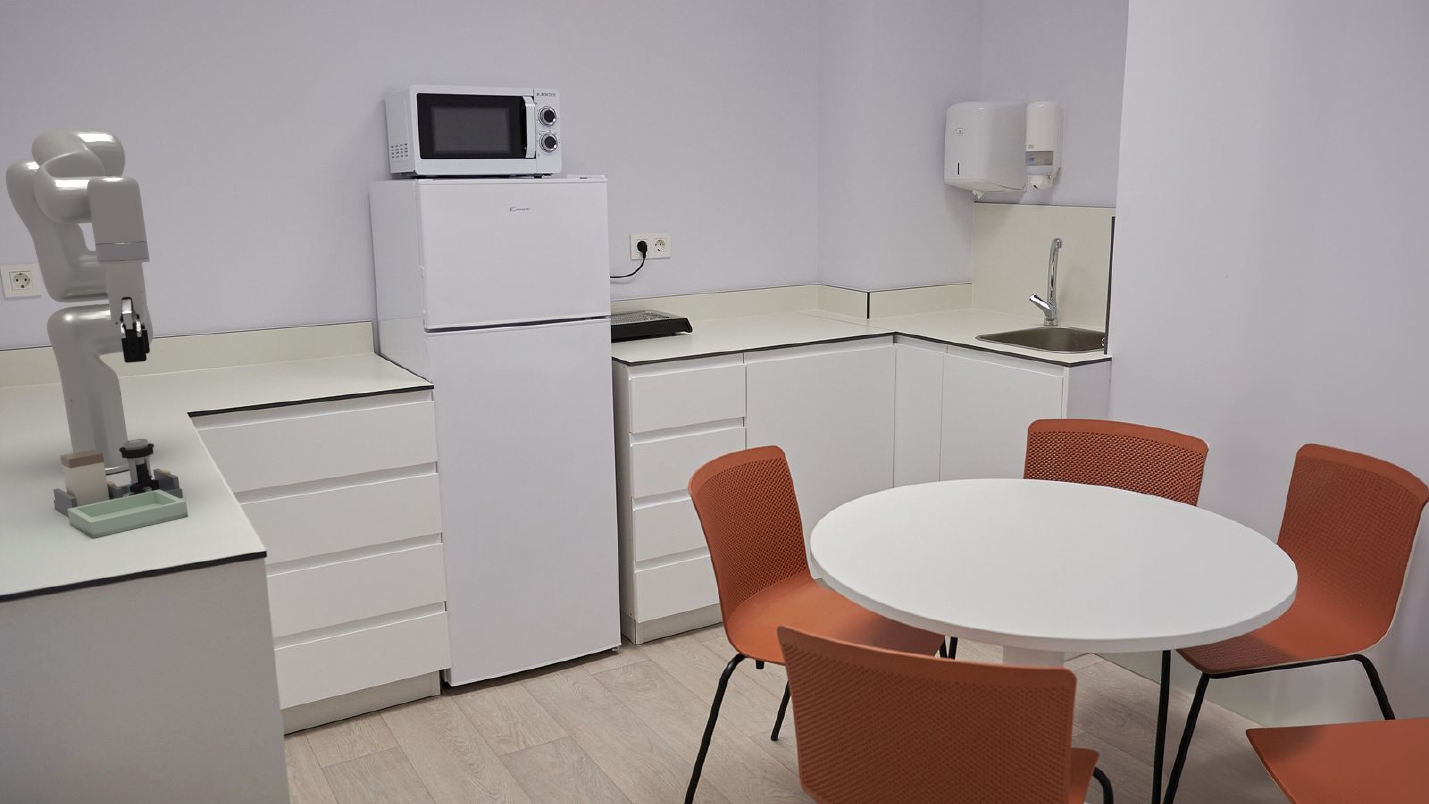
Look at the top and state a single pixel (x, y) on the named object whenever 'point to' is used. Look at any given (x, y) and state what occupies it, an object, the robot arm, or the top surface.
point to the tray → (127, 513)
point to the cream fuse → (85, 477)
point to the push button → (139, 466)
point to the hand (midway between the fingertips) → (137, 357)
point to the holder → (121, 490)
